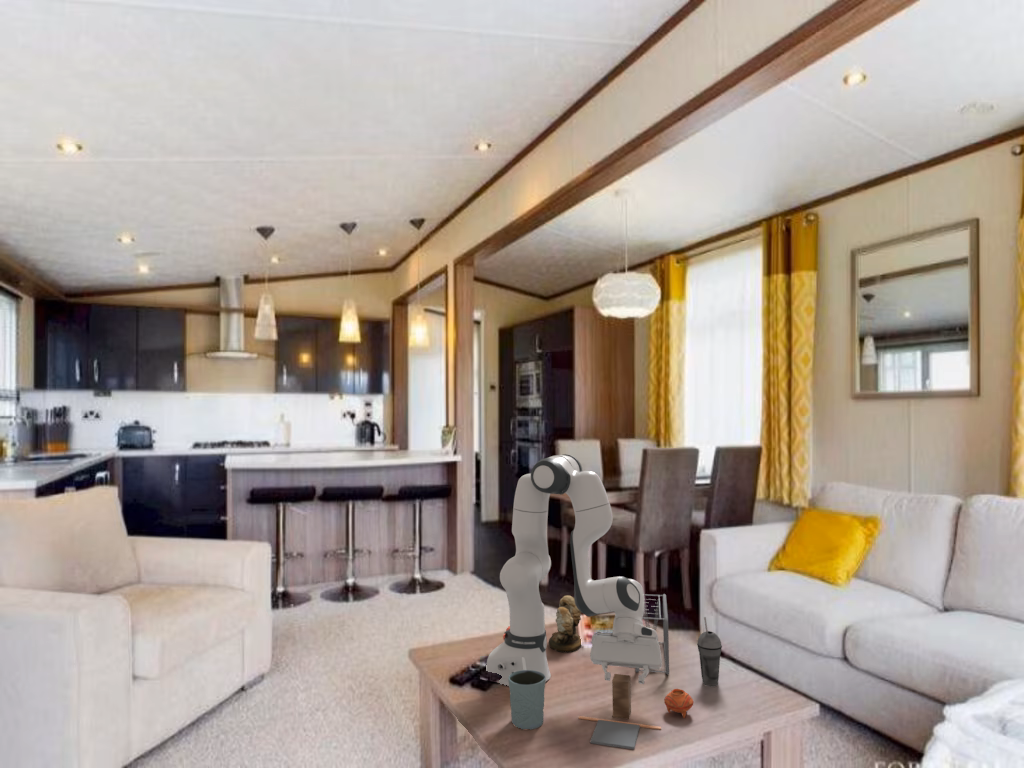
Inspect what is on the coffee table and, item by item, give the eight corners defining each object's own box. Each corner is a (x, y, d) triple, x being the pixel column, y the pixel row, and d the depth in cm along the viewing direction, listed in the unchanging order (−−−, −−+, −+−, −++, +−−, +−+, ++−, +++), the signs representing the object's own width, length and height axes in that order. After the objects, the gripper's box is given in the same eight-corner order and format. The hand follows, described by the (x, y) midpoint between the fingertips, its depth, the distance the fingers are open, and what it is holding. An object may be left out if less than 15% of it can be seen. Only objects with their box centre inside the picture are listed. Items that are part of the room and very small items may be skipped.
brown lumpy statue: (550, 634, 245) (549, 588, 246) (581, 635, 244) (581, 588, 245) (547, 652, 228) (547, 602, 228) (582, 653, 226) (581, 603, 227)
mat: (590, 743, 167) (590, 740, 167) (598, 721, 178) (598, 719, 178) (634, 749, 164) (634, 747, 164) (639, 727, 175) (639, 725, 175)
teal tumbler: (510, 731, 173) (509, 685, 174) (507, 713, 184) (507, 670, 184) (548, 729, 174) (547, 683, 174) (543, 711, 184) (543, 668, 185)
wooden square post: (612, 717, 181) (612, 680, 181) (615, 709, 185) (614, 673, 185) (629, 719, 179) (628, 682, 180) (631, 711, 184) (630, 675, 184)
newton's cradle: (637, 640, 238) (636, 591, 238) (666, 642, 235) (665, 592, 236) (635, 674, 208) (634, 618, 209) (669, 677, 206) (668, 619, 207)
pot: (701, 716, 180) (696, 693, 179) (676, 727, 178) (671, 703, 177) (686, 702, 188) (681, 680, 187) (662, 712, 186) (657, 690, 185)
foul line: (578, 718, 180) (578, 717, 180) (579, 717, 181) (579, 715, 181) (660, 729, 173) (660, 728, 173) (661, 727, 174) (661, 726, 174)
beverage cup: (724, 689, 197) (722, 621, 197) (698, 687, 198) (697, 620, 199) (721, 679, 204) (720, 614, 204) (697, 677, 205) (695, 612, 206)
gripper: (590, 626, 195) (585, 672, 185) (661, 631, 189) (660, 679, 179) (594, 636, 199) (589, 682, 189) (663, 641, 193) (661, 689, 183)
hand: (624, 681), depth 184 cm, fingers open, 8 cm apart
